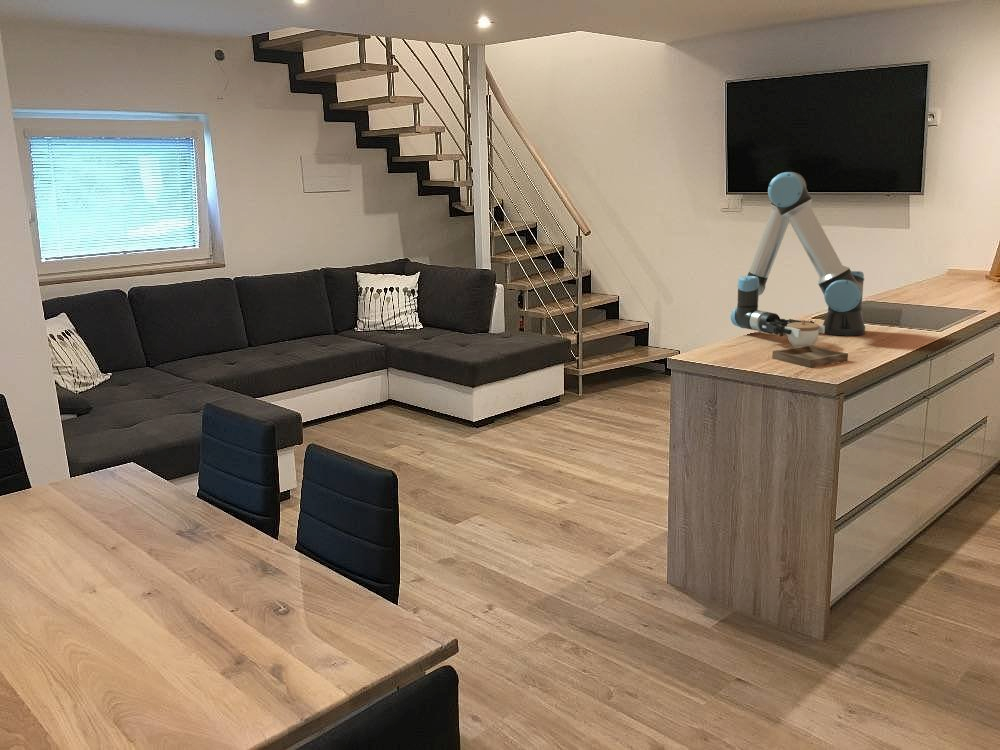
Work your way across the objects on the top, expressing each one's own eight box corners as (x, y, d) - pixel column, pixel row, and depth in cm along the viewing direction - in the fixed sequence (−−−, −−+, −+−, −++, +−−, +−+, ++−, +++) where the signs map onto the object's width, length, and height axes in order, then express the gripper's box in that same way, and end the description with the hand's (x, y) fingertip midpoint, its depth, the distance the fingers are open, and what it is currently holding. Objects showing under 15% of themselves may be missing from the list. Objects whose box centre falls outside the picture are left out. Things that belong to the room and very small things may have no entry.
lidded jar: (820, 350, 299) (822, 323, 297) (787, 349, 301) (789, 322, 299) (815, 343, 309) (817, 317, 307) (784, 343, 311) (785, 317, 309)
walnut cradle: (808, 352, 296) (809, 345, 295) (847, 361, 282) (848, 353, 281) (772, 358, 289) (772, 350, 288) (810, 367, 275) (810, 360, 274)
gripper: (788, 328, 325) (835, 338, 306) (740, 335, 315) (785, 346, 296) (789, 308, 323) (836, 317, 304) (741, 315, 313) (787, 324, 294)
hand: (811, 331), depth 300 cm, fingers closed on lidded jar, 11 cm apart
